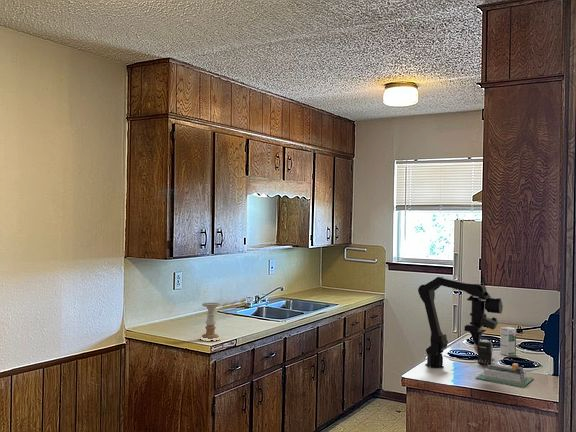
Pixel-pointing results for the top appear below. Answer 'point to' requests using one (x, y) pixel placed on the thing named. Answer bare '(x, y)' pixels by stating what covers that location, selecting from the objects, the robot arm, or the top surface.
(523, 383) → the green railed baseplate
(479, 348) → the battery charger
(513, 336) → the syrup box
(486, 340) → the decorative fruit
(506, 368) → the wood block
